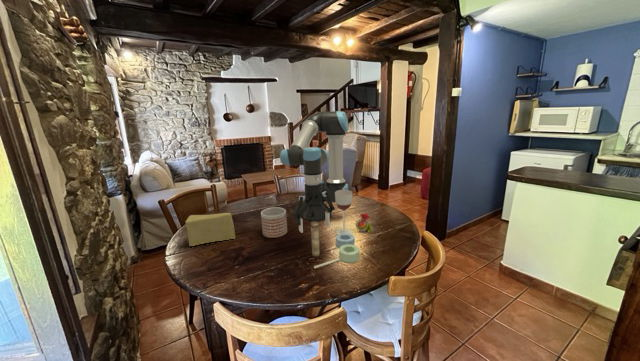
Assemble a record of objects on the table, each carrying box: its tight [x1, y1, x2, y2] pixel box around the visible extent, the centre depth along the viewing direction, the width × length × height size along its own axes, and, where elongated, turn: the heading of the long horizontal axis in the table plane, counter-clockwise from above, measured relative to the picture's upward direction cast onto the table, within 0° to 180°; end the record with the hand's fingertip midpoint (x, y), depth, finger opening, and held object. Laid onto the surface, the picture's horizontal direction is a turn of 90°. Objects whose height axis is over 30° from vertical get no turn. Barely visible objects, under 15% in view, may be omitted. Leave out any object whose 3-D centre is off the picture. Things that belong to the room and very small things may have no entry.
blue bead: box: [335, 233, 356, 249], centre depth 133 cm, size 9×9×4 cm
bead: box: [338, 245, 360, 264], centre depth 121 cm, size 9×9×4 cm
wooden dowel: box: [310, 221, 321, 257], centre depth 123 cm, size 4×4×16 cm
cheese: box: [185, 212, 236, 247], centre depth 139 cm, size 22×10×15 cm, turn 102°
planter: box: [260, 206, 288, 239], centre depth 148 cm, size 14×14×13 cm
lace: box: [313, 258, 341, 270], centre depth 116 cm, size 1×13×1 cm, turn 117°
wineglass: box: [335, 189, 353, 235], centre depth 144 cm, size 9×10×23 cm
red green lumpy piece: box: [355, 213, 373, 233], centre depth 146 cm, size 6×11×9 cm
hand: (314, 228), depth 121 cm, fingers open, 13 cm apart
